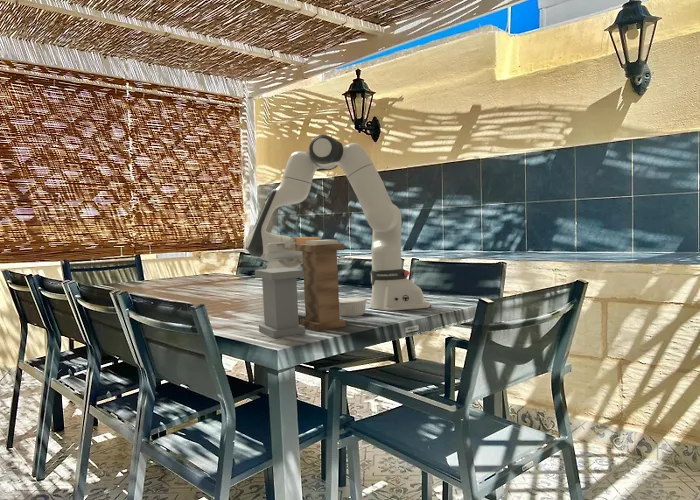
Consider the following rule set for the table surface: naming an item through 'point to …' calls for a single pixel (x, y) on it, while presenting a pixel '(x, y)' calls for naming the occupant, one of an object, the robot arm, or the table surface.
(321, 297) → the tall stand
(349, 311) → the ramekin
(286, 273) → the low stand
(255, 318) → the table surface
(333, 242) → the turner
